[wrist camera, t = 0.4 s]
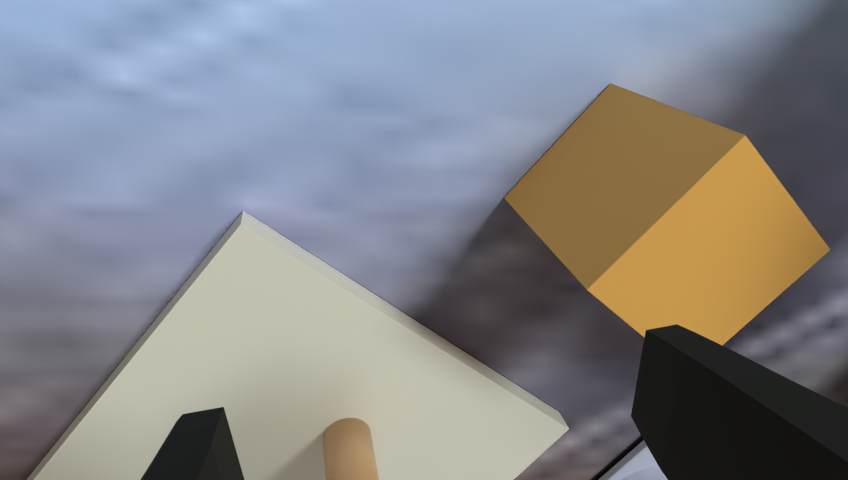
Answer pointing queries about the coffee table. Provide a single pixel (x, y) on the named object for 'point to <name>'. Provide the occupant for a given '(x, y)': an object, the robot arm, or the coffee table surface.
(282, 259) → the board
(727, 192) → the amber foam cube
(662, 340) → the robot arm
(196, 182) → the coffee table surface
